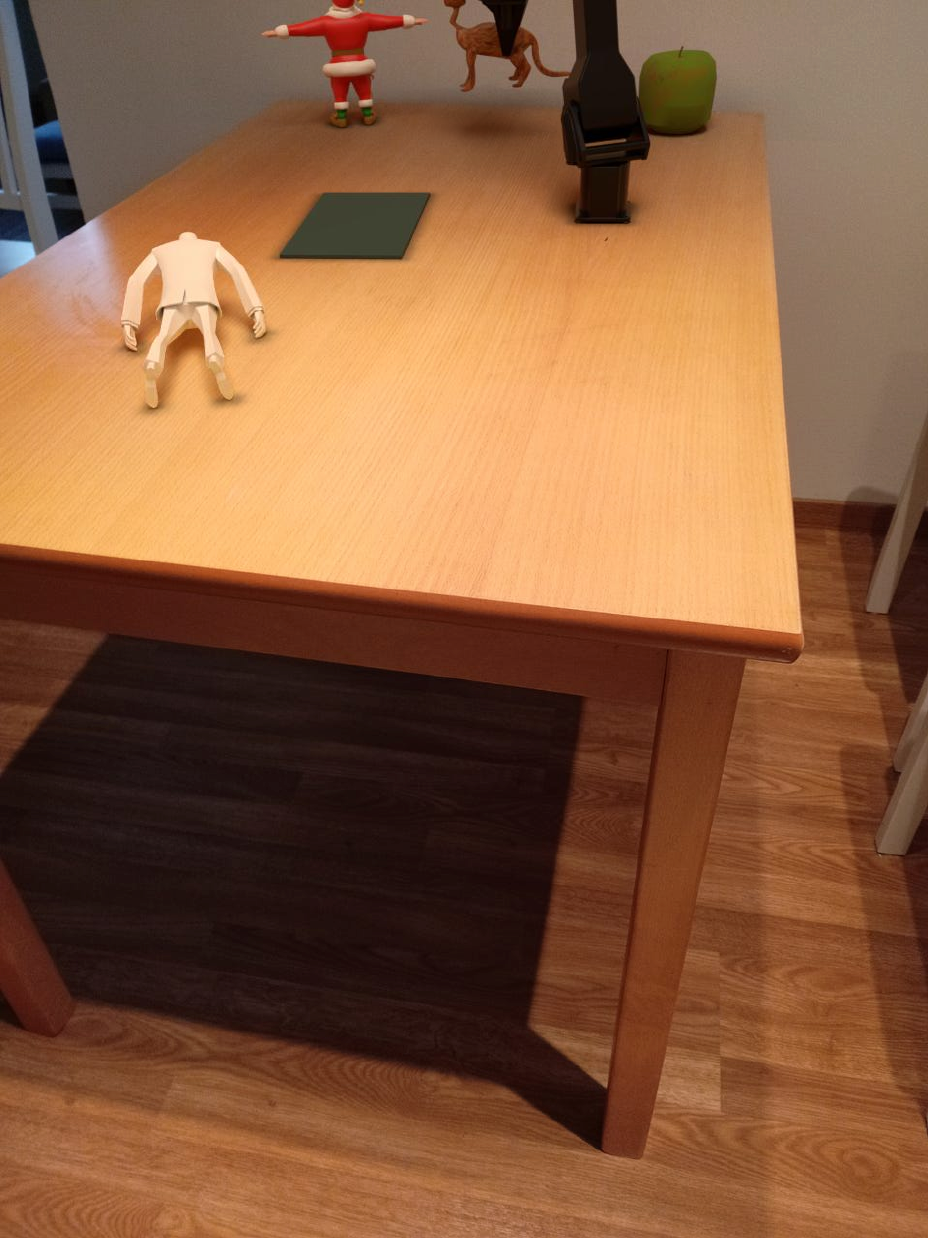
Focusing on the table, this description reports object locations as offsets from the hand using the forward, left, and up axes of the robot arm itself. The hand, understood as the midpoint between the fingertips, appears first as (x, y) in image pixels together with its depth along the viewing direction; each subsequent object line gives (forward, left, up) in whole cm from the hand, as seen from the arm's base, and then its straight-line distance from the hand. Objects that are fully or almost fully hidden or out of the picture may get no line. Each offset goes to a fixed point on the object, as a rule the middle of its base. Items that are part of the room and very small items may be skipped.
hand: (508, 50), depth 136 cm
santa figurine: (+10, +25, -12) cm, 29 cm away
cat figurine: (0, 0, -5) cm, 5 cm away
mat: (-36, +15, -12) cm, 41 cm away
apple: (+6, -24, -12) cm, 27 cm away
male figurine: (-70, +24, -12) cm, 75 cm away
